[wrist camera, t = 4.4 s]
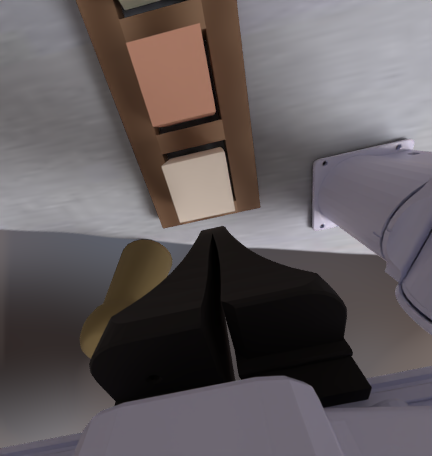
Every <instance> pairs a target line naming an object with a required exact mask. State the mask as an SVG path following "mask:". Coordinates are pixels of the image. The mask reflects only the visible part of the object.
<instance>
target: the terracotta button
mask: <svg viewBox="0 0 432 456" xmlns="http://www.w3.org/2000/svg"><path fill="white" fill-rule="evenodd" d="M126 45H127V48H128V51H129V54H130V57H131V61H132V64H133V67H134V70H135V73H136V76H137V79H138V82H139V85H140V89H141V92H142V95H143V98H144V101H145V104H146V107H147V110H148V113H149V116H150V120H151V123H152V126H153V127H168V126H172V125H176V124H180V123H184V122H188V121H192V120H196V119H200V118H204V117H209V116H213V115H214V114H215V112H216V109H215V103H214V98H213V93H212V87H211V82H210V76H209V71H208V65H207V60H206V54H205V49H204V44H203V38H202V33H201V27H200V23H198V24H194V25H190V26H187V27H183V28H179V29H176V30H172V31H168V32H164V33H161V34H157V35H153V36H150V37H146V38H142V39H139V40H135V41H131V42H127V43H126Z"/></svg>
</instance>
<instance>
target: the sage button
mask: <svg viewBox="0 0 432 456" xmlns="http://www.w3.org/2000/svg"><path fill="white" fill-rule="evenodd" d="M157 1H161V0H119V2H120V3H121V5H122V6H123V8H124V9H125V10H128V9H132V8H136V7H139V6H143V5H146V4H150V3H153V2H157Z"/></svg>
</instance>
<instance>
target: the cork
mask: <svg viewBox="0 0 432 456" xmlns="http://www.w3.org/2000/svg"><path fill="white" fill-rule="evenodd" d="M171 266H172V257H171V255H170V252H169V251H168V250H167V249H166V248H165V247H164V246H163V245H161V244H160V243H158V242H155V241H152V240H143V239H142V240H137V241H133V242H132V243H130V244H128V245H127V246H126V247H125V248H124V250H123V252H122V254H121V257H120V260H119V263H118V265H117V268H116V271H115V273H114V276H113V279H112V281H111V284H110V287H109V290H108V293H107V295H106V298H105V301H104V303H103V304H102V305H100V306H98V307H97V308H96V309H95V310H94V311H93V312H92V314H90V316H89V317H88V318H87V319H86V321H85V323H84V325H83V328H82V331H81V335H80V345H81V348H82V351H83V352H84V353H85V354H86V355H87V356H88V357H89V358H91V357H92V355H93V353H94V351H95V349H96V347H97V345H98V343H99V341H100V338H101V336H102V334H103V332H104V330H105V328H106V326H107V324H108V322H109V320H110V318H111V317H112V316H113V315H115V314H117V313H118V312H120V311H122V310H123V309H125V308H126V307H128V306H129V305H131V304H133V303H134V302H136V301H137V300H139V299H140V298H141V297H143V296H144V295H146V294H147V293H148V292H150V291H151V290H152V289H153V288H155V287H156V286H157V285H158V284H160V283H161V282H162V281H163V280H164V279H165V278H166V277H167V276H168V273H169V271H170V269H171Z"/></svg>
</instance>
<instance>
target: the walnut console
mask: <svg viewBox="0 0 432 456" xmlns="http://www.w3.org/2000/svg"><path fill="white" fill-rule="evenodd" d="M76 2H77V5H78V8H79V10H80V13H81V16H82V18H83V21H84V23H85V26H86V29H87V31H88V34H89V36H90V39H91V42H92V44H93V47H94V49H95V52H96V55H97V57H98V60H99V63H100V65H101V68H102V70H103V73H104V76H105V78H106V81H107V83H108V86H109V89H110V91H111V94H112V96H113V99H114V102H115V104H116V107H117V110H118V112H119V115H120V117H121V120H122V123H123V125H124V128H125V130H126V133H127V136H128V138H129V141H130V143H131V146H132V149H133V151H134V154H135V157H136V159H137V162H138V164H139V167H140V170H141V172H142V175H143V177H144V180H145V183H146V185H147V188H148V190H149V193H150V196H151V198H152V201H153V204H154V206H155V209H156V211H157V214H158V217H159V219H160V222H161V224H162V227H163V228H168V227H173V226H177V225H182V224H186V223H191V222H196V221H200V220H205V219H210V218H214V217H219V216H223V215H228V214H233V213H237V212H242V211H247V210H251V209H256V208H260V199H259V191H258V182H257V173H256V164H255V156H254V147H253V138H252V130H251V121H250V112H249V104H248V95H247V86H246V78H245V69H244V60H243V52H242V43H241V34H240V26H239V17H238V8H237V0H188V1H184V2H180V3H177V4H173V5H170V6H166V7H162V8H159V9H155V10H152V11H148V12H144V13H141V14H137V15H134V16H130V17H126V18H125V17H124V14H123V11H122V7H121V4H120V2H119V0H76ZM198 23H200V27H201V33H202V38H203V41H205V40H206V43H207V49H208V55H209V60H210V66H211V72H212V77H213V83H214V88H215V94H216V100H217V105H218V111H219V116H220V120H217V121H213V122H209V123H205V124H201V125H197V126H193V127H189V128H184V129H180V130H176V131H172V132H168V133H164V134H161V133H160V130H159V127H153V126H152V123H151V120H150V116H149V113H148V110H147V107H146V104H145V101H144V98H143V95H142V92H141V89H140V85H139V82H138V79H137V76H136V73H135V70H134V67H133V64H132V61H131V57H130V54H129V51H128V48H127V45H126V43H127V42H131V41H135V40H139V39H142V38H146V37H150V36H153V35H157V34H161V33H164V32H168V31H172V30H176V29H179V28H183V27H187V26H190V25H194V24H198ZM221 140H224V145H225V150H226V156H227V161H228V167H229V173H230V178H231V184H232V190H233V195H232V196H233V201H234V207H235V211H233V212H228V213H223V214H219V215H214V216H210V217H205V218H200V219H196V220H191V221H187V222H182V223H180V221H179V218H178V215H177V212H176V209H175V206H174V203H173V200H172V197H171V194H170V191H169V188H168V185H167V182H166V179H165V176H164V173H163V170H162V167H161V166H162V165H163V164H164V163H166V162H167V161H168V160H169V159H168V156H167V153H170V152H175V151H179V150H183V149H187V148H192V147H196V146H200V145H204V144H208V143H213V142H217V141H221Z"/></svg>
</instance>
